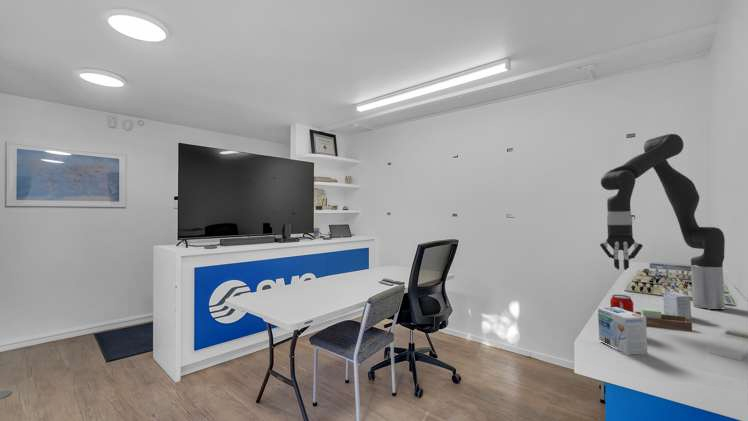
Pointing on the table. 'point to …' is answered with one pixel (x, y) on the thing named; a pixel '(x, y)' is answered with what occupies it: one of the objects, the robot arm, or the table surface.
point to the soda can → (622, 302)
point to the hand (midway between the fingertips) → (621, 269)
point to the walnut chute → (669, 322)
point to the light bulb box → (623, 330)
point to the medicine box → (677, 304)
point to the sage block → (651, 312)
